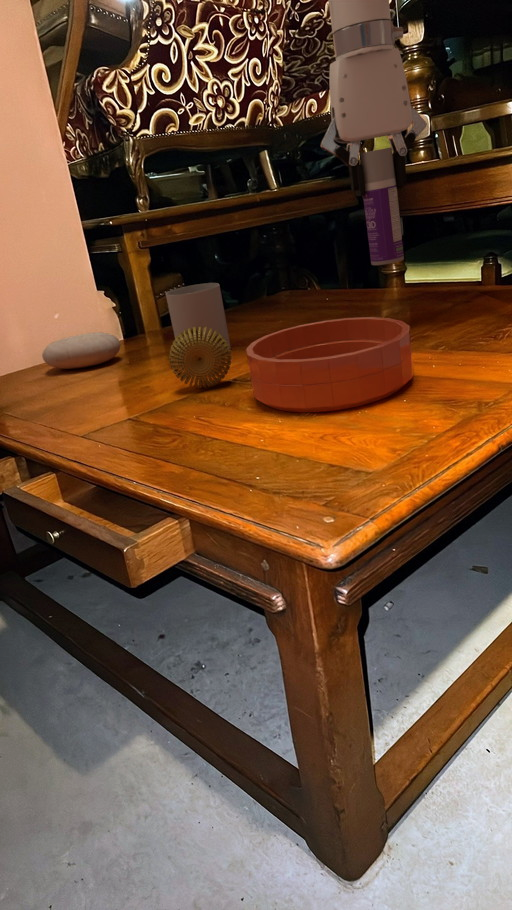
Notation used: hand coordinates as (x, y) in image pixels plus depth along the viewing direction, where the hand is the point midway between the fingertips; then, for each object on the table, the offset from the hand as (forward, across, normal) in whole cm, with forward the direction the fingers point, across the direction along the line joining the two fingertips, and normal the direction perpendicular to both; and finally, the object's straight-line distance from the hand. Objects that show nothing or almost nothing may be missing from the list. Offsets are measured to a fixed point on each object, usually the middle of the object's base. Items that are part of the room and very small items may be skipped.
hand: (379, 190), depth 97 cm
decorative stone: (+19, +49, -12) cm, 54 cm away
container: (+10, 0, 0) cm, 10 cm away
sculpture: (+19, +29, +14) cm, 37 cm away
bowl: (+19, +14, +24) cm, 34 cm away
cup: (+19, +29, -6) cm, 35 cm away
